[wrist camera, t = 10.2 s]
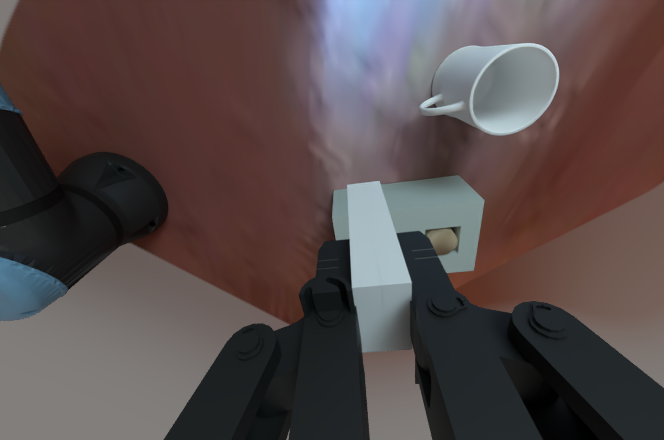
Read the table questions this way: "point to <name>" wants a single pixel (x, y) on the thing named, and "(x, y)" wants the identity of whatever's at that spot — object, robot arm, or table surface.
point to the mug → (495, 86)
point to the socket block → (427, 214)
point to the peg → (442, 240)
